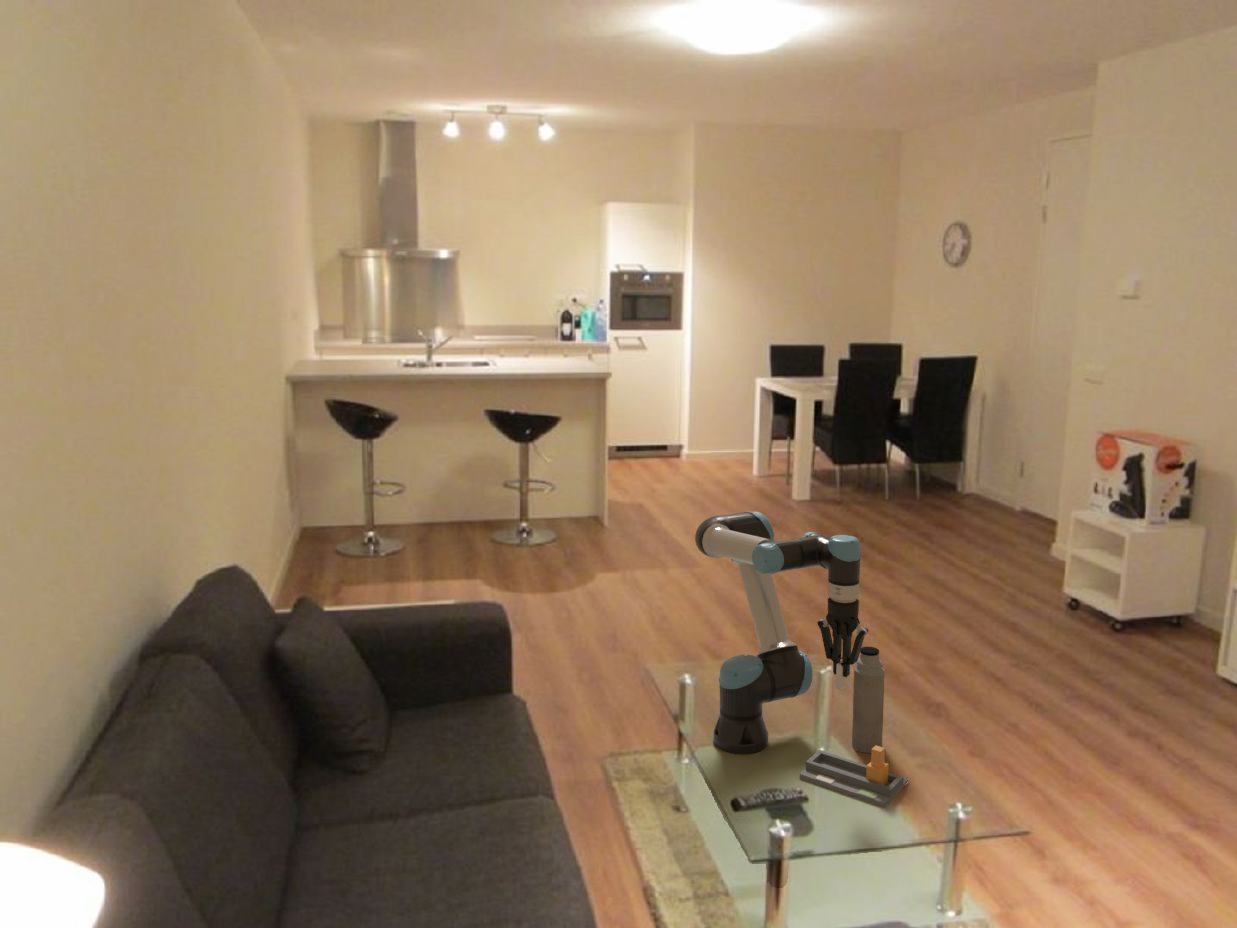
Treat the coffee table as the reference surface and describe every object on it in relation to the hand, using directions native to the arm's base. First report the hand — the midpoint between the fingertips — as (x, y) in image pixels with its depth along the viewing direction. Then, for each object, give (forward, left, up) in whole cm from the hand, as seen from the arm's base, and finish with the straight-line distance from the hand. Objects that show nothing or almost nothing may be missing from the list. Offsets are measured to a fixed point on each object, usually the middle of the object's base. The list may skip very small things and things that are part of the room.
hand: (841, 687), depth 239 cm
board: (+4, 0, -24) cm, 25 cm away
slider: (+10, 0, -23) cm, 25 cm away
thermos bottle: (-1, +19, -25) cm, 31 cm away
